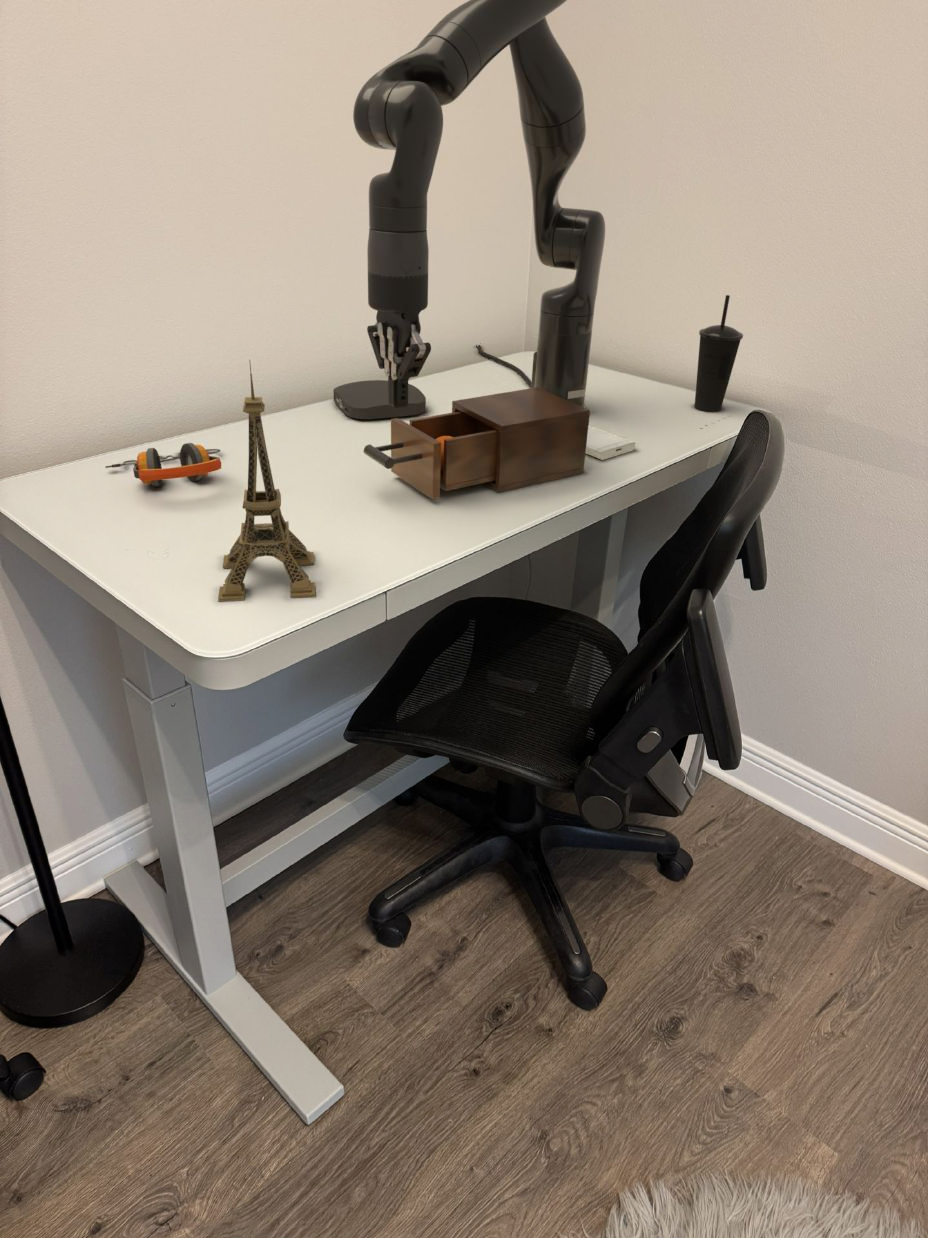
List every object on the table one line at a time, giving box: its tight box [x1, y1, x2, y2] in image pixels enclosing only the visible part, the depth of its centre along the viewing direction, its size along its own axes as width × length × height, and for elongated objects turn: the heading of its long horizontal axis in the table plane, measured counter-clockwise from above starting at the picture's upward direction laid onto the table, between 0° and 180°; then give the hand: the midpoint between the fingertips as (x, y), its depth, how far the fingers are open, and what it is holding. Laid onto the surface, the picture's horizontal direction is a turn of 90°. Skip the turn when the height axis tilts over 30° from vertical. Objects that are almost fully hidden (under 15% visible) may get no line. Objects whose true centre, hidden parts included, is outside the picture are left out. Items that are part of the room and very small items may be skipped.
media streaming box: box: [333, 379, 427, 420], centre depth 159 cm, size 15×15×3 cm
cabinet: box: [451, 387, 591, 493], centre depth 133 cm, size 16×13×10 cm
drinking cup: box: [694, 294, 744, 413], centre depth 161 cm, size 8×8×20 cm
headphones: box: [104, 442, 222, 488], centre depth 126 cm, size 17×5×20 cm
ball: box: [436, 436, 454, 471], centre depth 127 cm, size 5×5×5 cm
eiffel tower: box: [217, 359, 316, 602], centre depth 97 cm, size 11×11×25 cm
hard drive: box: [585, 424, 636, 461], centre depth 146 cm, size 2×8×12 cm
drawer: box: [363, 411, 498, 500], centre depth 126 cm, size 20×12×8 cm, turn 123°
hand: (398, 405), depth 119 cm, fingers closed
